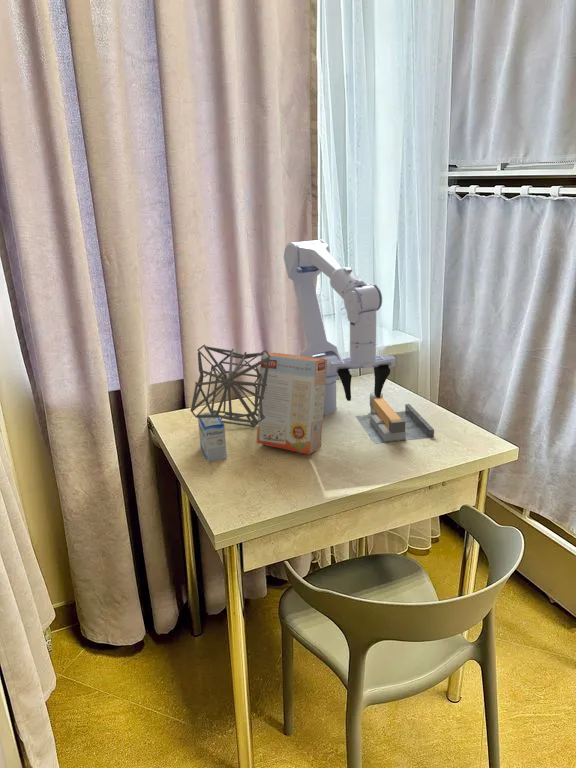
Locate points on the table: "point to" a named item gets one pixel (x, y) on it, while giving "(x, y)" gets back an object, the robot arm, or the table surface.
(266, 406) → the cracker box
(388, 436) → the module
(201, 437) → the medicine box
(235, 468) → the table surface
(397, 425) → the swing bar
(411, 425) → the tray
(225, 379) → the geometric lantern
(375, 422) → the block
